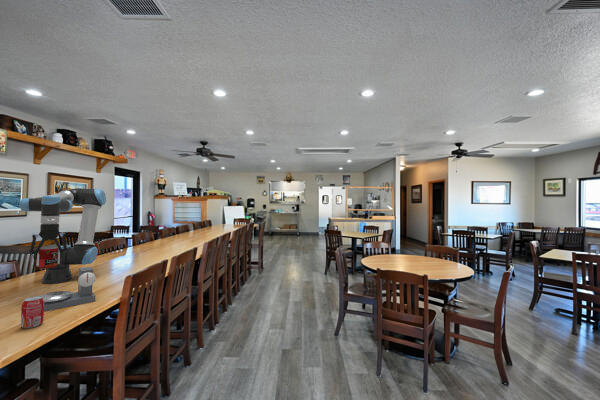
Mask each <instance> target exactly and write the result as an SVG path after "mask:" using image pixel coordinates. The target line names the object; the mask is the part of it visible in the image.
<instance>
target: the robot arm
mask: <svg viewBox="0 0 600 400" xmlns="http://www.w3.org/2000/svg"><path fill="white" fill-rule="evenodd" d="M106 203H107V196H106V193H105V191H104V190H103V189H99V188H80V187H77V188H70V189H65V190H61V191H59V192H57V193H54V194H49V195H43V196H39V197H34V198H32V197H26V198H22V199H21V200H20V201H19V207H18V208H19V209H20V210H21V211H22V212H40V226H39V227H40V228H39V229H40V230H39V233H36V234H35V233H34V234H32V235H31V236H32V237H31V238H32V241H31V245H30V248H29V251H28V252H29V254H33V261H36V264H35V265H36V267H39V250H40V248H41V247H43V245H44V243H45V242H46V241H53V242H54V243H55V246H57V247H58V264H57V266H56V267H52V268H45V272H44V273H43V274H44V275H43V276H42V278H41V283H42V284H45V285H47V284H49V285H50V284H51V285H52V284H60V283H65V282H69V281H72V280H73V273H72V271H71V268H70V266H71V265H72V266H75V265H78V266H79V265H84V266H85V265H91V264H93V263H94V262H95V260H96V259H97V257H98V254H99V253H98V252H99V251H98V250H99V249H98V247H96V244H95V243H94V238H95V233H96V227H97V220H98V215H99V210H101V209H102V206H105V205H106ZM74 205H80V207H82V215H81V221H80V225H79V231H78V235H77V236H78V237H77V242H75V243H73V247H72V246H71V245H70V244H67V239H66V236H67V234H66V232H60V214H61V213H65V212H66V213H67V212H69V211H71V210H73V209H72V208H73V206H74ZM59 236H60V237H61V241H62V245H61V244H60V243H59V240H58V239H57V238H58V237H59ZM39 237H40V238H41V240H40V242H39V243H38V245H37V246H36V248H35V245H36V241H37V239H38V238H39ZM34 249H35V250H34Z"/></svg>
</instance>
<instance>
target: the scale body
mask: <svg viewBox="0 0 600 400" xmlns="http://www.w3.org/2000/svg"><path fill="white" fill-rule="evenodd" d="M96 280H97V276H96V274H94V269H93V268H92V266H86V267H79V268H78V280H77V282H78V283H77V286H78V287H77V291H75V292H72V296H71V297H69V298H66V299H63V300H59V301H53V302H44V313H45V312H49V311H54V310H58V309H59V310H60V309H65V308H70V307H74V306H78V305H84V304H89V303H94V302H96V295H95V293H94V292H93V286H94V285H93V284H94V283H95V282H96Z"/></svg>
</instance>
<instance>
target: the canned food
mask: <svg viewBox="0 0 600 400" xmlns="http://www.w3.org/2000/svg"><path fill="white" fill-rule="evenodd" d="M38 253H39V266H38V268H39V269H46V268H52V267H56V266H57V264H58V247H57V245H46V246H45V245H44V246H43V245H42V246H41V248H40V250H39V251H38Z"/></svg>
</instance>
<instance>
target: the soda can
mask: <svg viewBox="0 0 600 400" xmlns="http://www.w3.org/2000/svg"><path fill="white" fill-rule="evenodd" d="M20 313H21V314H20V327H21V328H24V329H33V328H36V327H39V326H41V324H43V323H44V318H45V317H44V316H45V315H44V314H45V312H44V299H43V298H42V296H40V295H35V296H29V297H26V298H24V300H23V302H22V304H21V309H20Z"/></svg>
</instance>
